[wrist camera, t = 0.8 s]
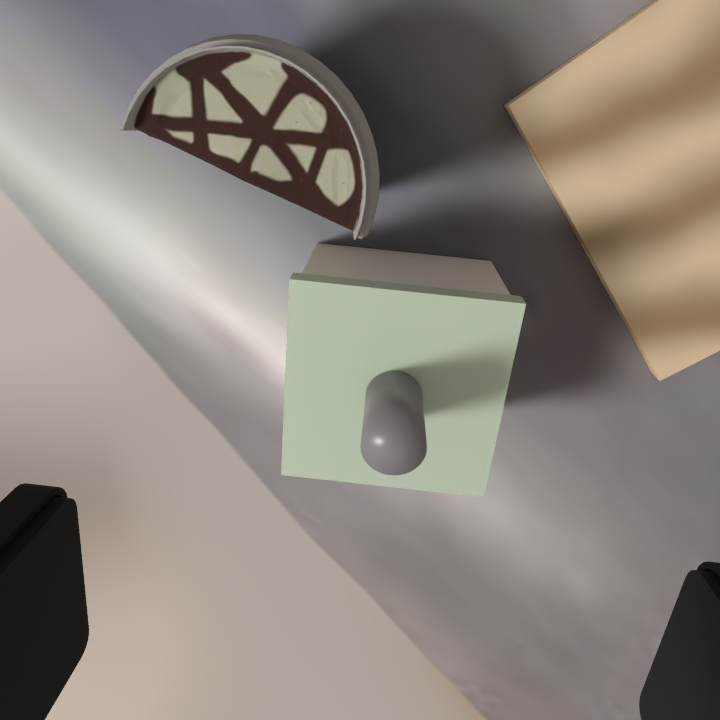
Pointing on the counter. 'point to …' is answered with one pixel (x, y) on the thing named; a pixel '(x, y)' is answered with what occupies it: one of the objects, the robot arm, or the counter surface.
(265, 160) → the food container
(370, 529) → the counter surface
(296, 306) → the lid
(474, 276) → the storage box
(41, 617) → the robot arm
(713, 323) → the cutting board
